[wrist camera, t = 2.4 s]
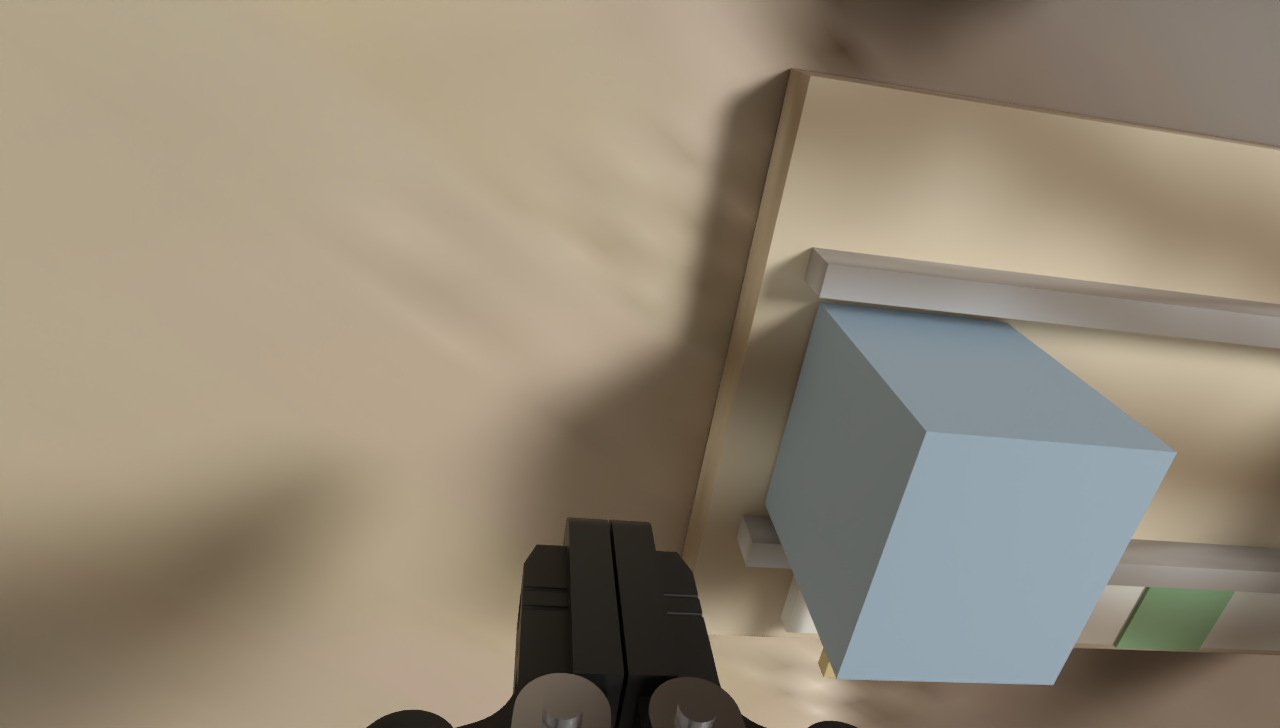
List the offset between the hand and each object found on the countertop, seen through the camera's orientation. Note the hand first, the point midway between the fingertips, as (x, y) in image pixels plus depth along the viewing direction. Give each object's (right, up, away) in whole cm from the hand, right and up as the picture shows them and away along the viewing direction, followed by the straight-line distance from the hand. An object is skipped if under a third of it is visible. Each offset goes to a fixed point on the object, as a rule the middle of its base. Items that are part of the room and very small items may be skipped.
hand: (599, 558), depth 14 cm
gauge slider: (+7, 0, +7) cm, 11 cm away
